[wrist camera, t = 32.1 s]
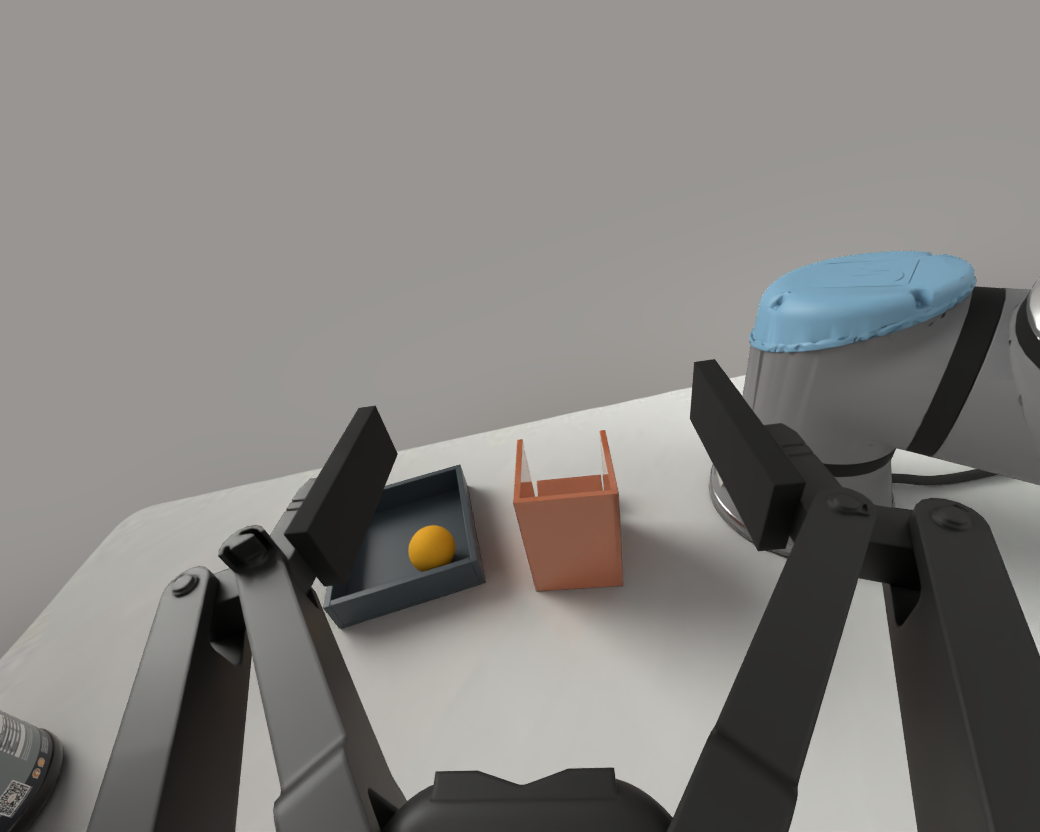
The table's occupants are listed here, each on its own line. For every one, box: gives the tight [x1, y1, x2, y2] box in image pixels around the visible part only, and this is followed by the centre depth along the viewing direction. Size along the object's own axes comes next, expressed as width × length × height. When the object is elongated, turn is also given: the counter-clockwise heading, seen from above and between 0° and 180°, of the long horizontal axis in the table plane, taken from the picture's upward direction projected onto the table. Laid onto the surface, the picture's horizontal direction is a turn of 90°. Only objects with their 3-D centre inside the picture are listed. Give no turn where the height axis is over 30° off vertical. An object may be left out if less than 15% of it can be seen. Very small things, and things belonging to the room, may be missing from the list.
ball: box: [409, 525, 456, 572], centre depth 41 cm, size 5×5×5 cm
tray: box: [323, 465, 485, 629], centre depth 44 cm, size 14×14×4 cm
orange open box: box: [513, 430, 623, 591], centre depth 40 cm, size 12×8×12 cm
